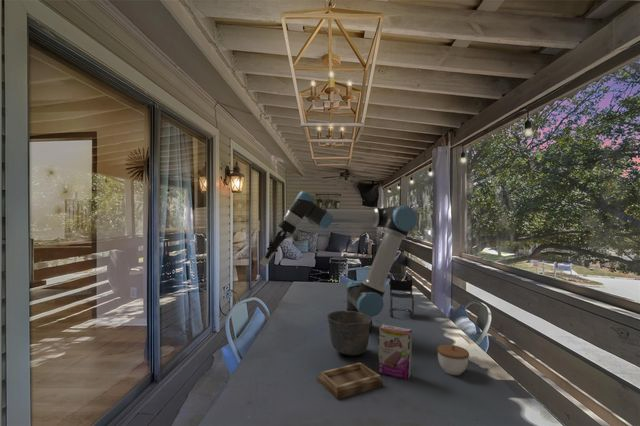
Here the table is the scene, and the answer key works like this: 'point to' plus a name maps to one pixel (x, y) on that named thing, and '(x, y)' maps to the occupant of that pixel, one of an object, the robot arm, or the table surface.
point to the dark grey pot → (349, 331)
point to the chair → (401, 287)
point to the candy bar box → (394, 351)
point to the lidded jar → (453, 359)
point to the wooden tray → (349, 380)
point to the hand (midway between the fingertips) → (263, 263)
